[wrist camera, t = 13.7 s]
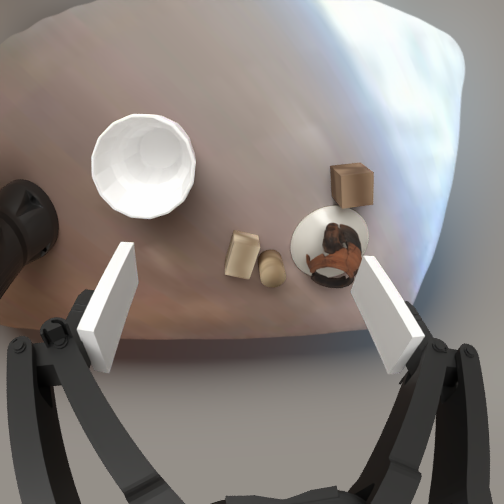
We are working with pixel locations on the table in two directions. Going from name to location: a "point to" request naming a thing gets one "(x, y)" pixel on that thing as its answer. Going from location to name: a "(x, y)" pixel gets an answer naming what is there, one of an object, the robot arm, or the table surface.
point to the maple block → (241, 254)
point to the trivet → (312, 235)
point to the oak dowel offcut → (271, 268)
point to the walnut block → (352, 185)
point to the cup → (143, 165)
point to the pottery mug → (337, 256)
